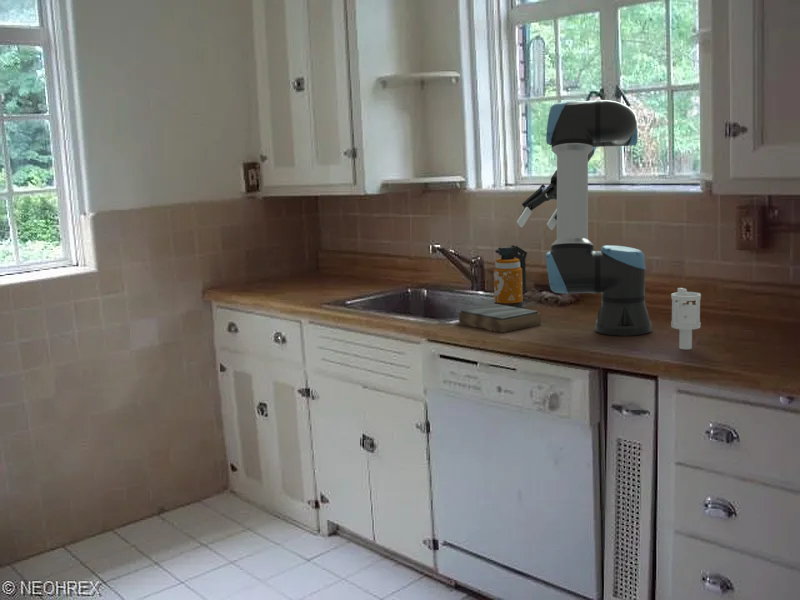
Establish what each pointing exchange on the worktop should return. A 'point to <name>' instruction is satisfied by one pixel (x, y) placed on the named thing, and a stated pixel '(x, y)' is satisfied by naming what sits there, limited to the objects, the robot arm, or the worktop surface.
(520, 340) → the worktop surface
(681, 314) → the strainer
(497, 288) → the canister
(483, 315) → the stand
